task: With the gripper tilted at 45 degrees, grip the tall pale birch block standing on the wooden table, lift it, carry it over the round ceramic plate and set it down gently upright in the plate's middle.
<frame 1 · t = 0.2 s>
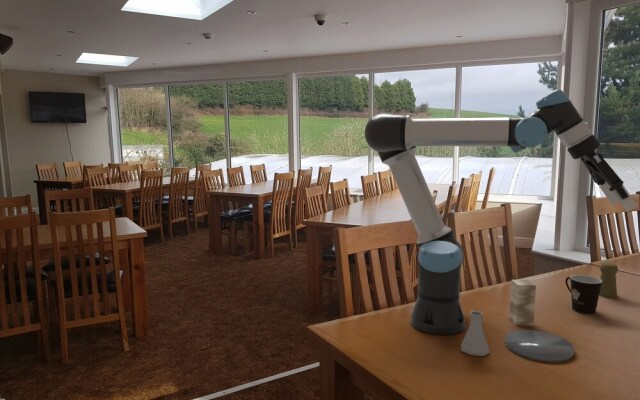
hand: (624, 205, 126), 35 cm above the table, tool tilted 35°, fingers open, 13 cm apart
cork: (606, 295, 159), on the table
flask: (474, 351, 118), on the table
birch block: (521, 321, 136), on the table
plate: (538, 347, 120), on the table
coffee mug: (582, 308, 147), on the table
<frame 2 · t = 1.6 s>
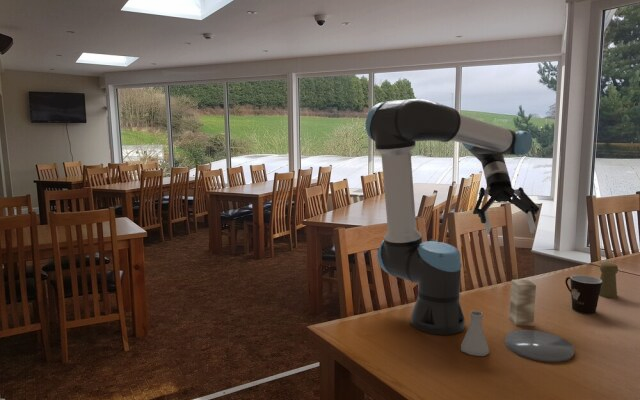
hand: (511, 231, 144), 25 cm above the table, tool tilted 45°, fingers open, 13 cm apart
nothing on the table moved.
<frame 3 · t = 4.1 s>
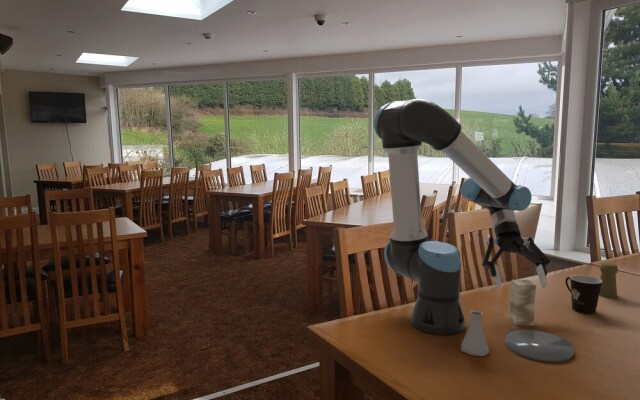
hand: (522, 286, 139), 9 cm above the table, tool tilted 45°, fingers open, 13 cm apart
nothing on the table moved.
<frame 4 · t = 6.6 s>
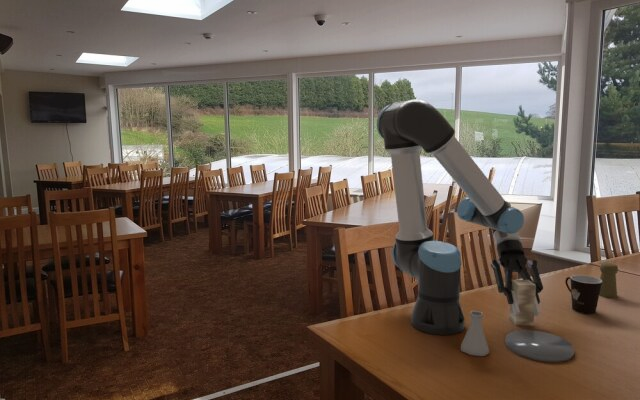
hand: (527, 314, 132), 4 cm above the table, tool tilted 45°, fingers closed on birch block, 5 cm apart
birch block: (521, 321, 136), on the table, touching gripper
everything else where it was.
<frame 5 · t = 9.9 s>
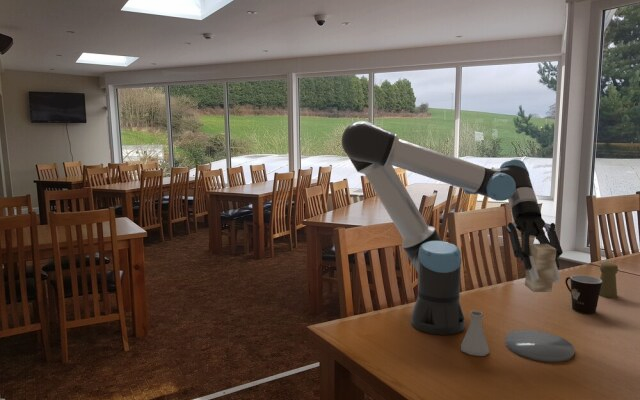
hand: (546, 280, 123), 16 cm above the table, tool tilted 40°, fingers closed on birch block, 5 cm apart
birch block: (537, 288, 127), point 13 cm above the table, touching gripper
everything else where it was.
when the fingers open (6 cm above the table, at t = 13.4 s): birch block drops 1 cm, resting on plate.
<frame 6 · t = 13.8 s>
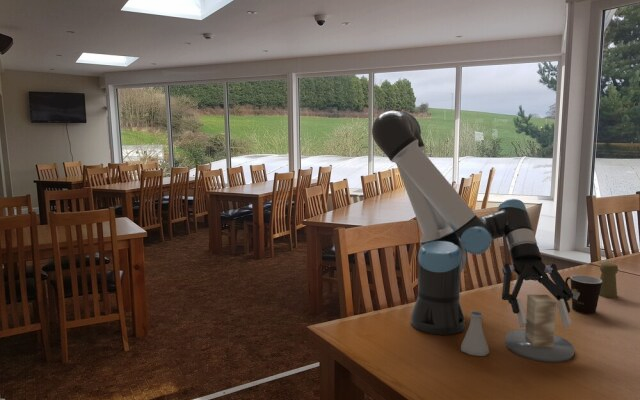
hand: (545, 325, 116), 7 cm above the table, tool tilted 45°, fingers open, 10 cm apart
birch block: (538, 342, 120), point 1 cm above the table, touching plate
everything else where it was.
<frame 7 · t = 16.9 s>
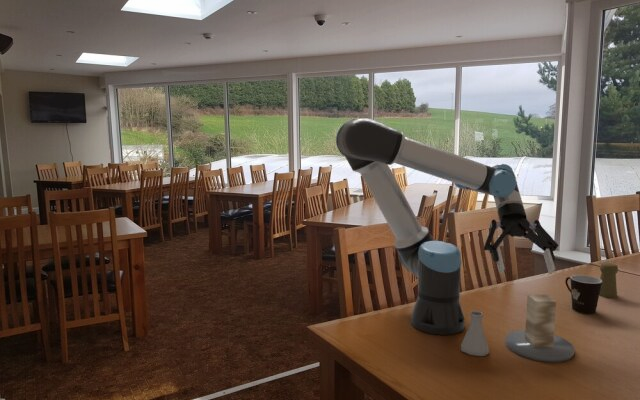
hand: (527, 271, 127), 17 cm above the table, tool tilted 45°, fingers open, 13 cm apart
nothing on the table moved.
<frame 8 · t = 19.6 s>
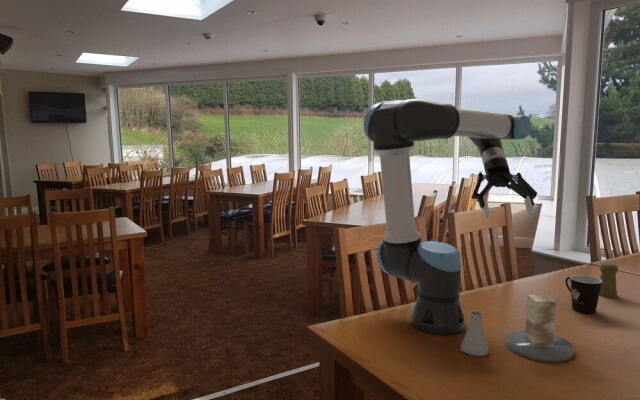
hand: (509, 215, 144), 30 cm above the table, tool tilted 45°, fingers open, 13 cm apart
nothing on the table moved.
at the end: birch block inside the target area on the plate (0.1 cm from its centre), point 1.2 cm above the plate's base; birch block tilted 0°; the gripper is holding nothing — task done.
